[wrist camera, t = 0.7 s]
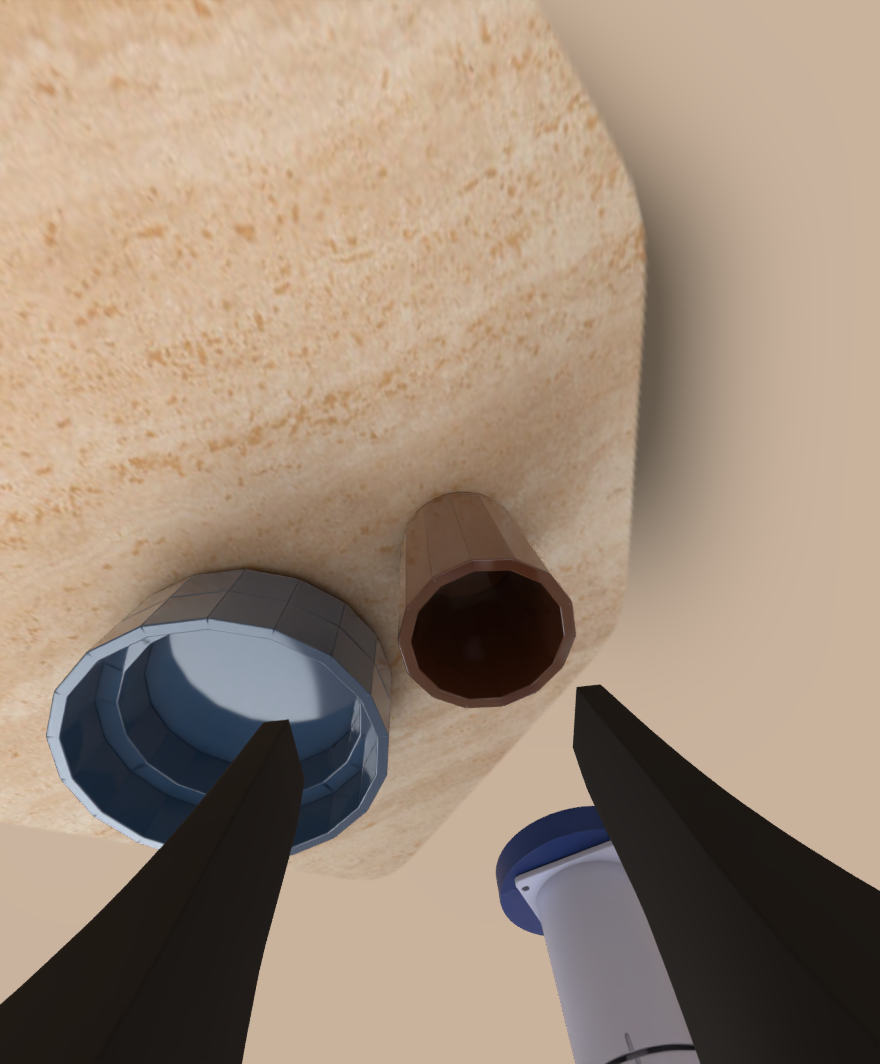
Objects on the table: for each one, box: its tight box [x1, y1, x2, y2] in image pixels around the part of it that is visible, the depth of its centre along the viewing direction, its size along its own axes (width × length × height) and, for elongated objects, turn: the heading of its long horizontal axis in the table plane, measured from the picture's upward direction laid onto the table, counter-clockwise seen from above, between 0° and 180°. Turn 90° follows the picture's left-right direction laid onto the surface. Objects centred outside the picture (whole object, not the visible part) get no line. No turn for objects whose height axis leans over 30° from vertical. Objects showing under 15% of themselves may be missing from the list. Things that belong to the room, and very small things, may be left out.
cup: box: [398, 492, 576, 708], centre depth 16 cm, size 5×6×7 cm
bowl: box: [46, 569, 392, 855], centre depth 19 cm, size 13×13×4 cm
